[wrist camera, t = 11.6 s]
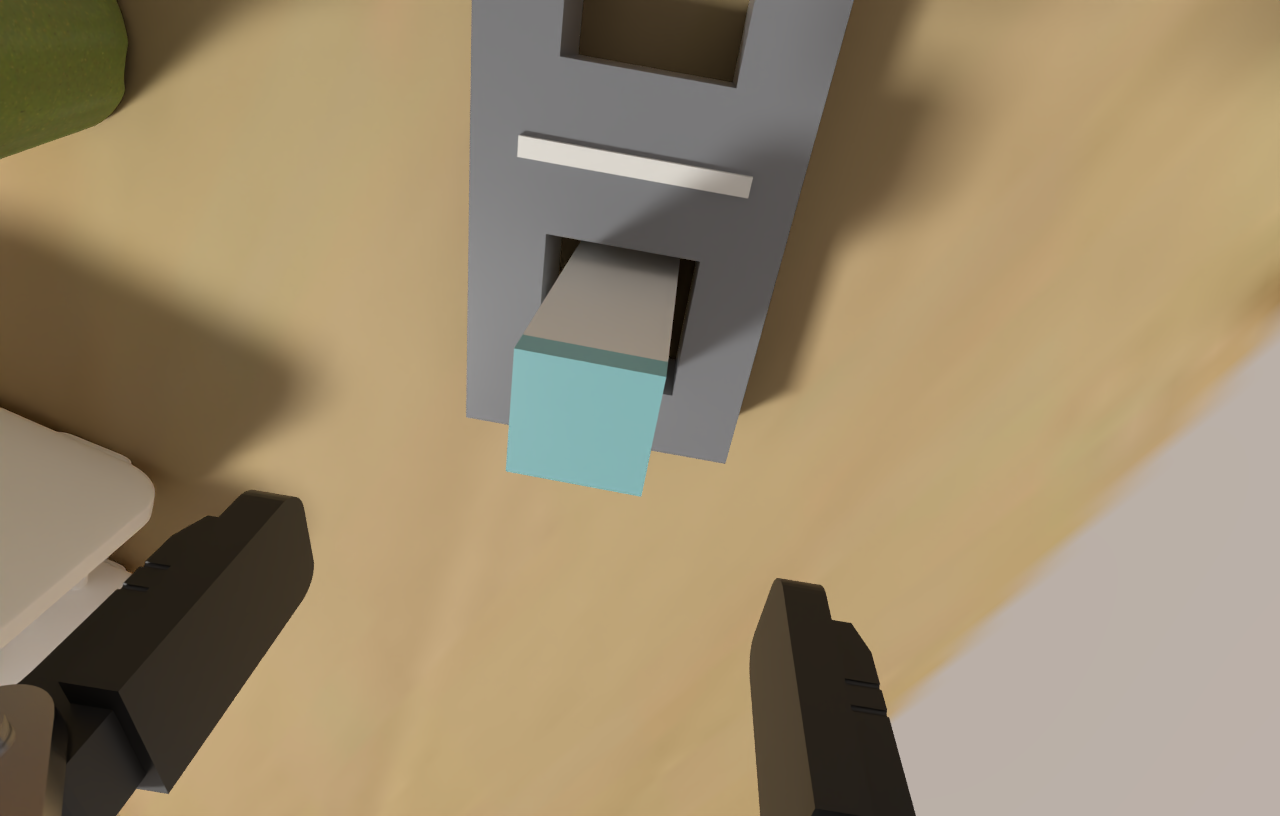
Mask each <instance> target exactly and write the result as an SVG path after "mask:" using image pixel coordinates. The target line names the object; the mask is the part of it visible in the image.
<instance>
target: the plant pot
mask: <svg viewBox="0 0 1280 816" xmlns="http://www.w3.org/2000/svg"><path fill="white" fill-rule="evenodd" d="M127 48H128V38H127V33H126V28H125V25H124V21H123V17H122V14H121V11H120V8H119V6H118V3H117V1H116V0H0V159H2V158H5V157H7V156H10V155H13V154H16V153H19V152H22V151H24V150H27V149H30V148H33V147H36V146H39V145H41V144H44V143H47V142H50V141H53V140H56V139H59V138H61V137H64V136H67V135H70V134H73V133H76V132H79V131H81V130H84V129H87V128H90V127H92V126H95V125H97V124H98V123H100V122H102V121H103V120H104V119H106V118H107V117H108V116H109V115H110V114H111V113H112V112H113V111H114V110H115V108H116V107H117V106H118V104H119V103H120V101H121V99H122V97H123V95H124V92H125V86H124V69H125V59H126V53H127Z"/></svg>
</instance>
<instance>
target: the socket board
mask: <svg viewBox="0 0 1280 816" xmlns="http://www.w3.org/2000/svg"><path fill="white" fill-rule="evenodd" d="M853 1H854V0H749V4H748V9H747V14H746V19H745V24H744V29H743V34H742V39H741V43H740V48H739V53H738V58H737V63H736V68H735V73H734V78H733V82H728V81H723V80H717V79H712V78H706V77H701V76H695V75H689V74H684V73H678V72H673V71H667V70H662V69H656V68H651V67H645V66H640V65H634V64H628V63H623V62H617V61H612V60H606V59H601V58H595V57H590V56H584V55H579V44H580V33H581V22H582V11H583V0H472V31H471V105H470V179H469V252H468V326H467V400H466V417H468V418H474V419H479V420H485V421H491V422H496V423H502V424H507V425H509V417H510V402H511V387H512V372H513V357H514V348H515V346H516V344H517V343H518V341H519V340H520V338H521V336H522V335H523V333H524V332H525V330H526V328H527V327H528V325H529V324H530V322H531V320H532V319H533V317H534V316H535V314H536V312H537V311H538V309H539V307H540V306H541V304H542V303H543V301H544V299H545V298H546V296H547V295H548V293H549V291H550V290H551V288H552V287H553V285H554V283H555V282H556V280H557V279H558V275H559V264H560V253H561V242H562V237H566V238H572V239H577V240H583V241H588V242H594V243H599V244H605V245H610V246H616V247H622V248H627V249H633V250H638V251H644V252H649V253H655V254H660V255H666V256H671V257H677V258H683V259H688V260H694V261H696V263H695V268H694V272H693V277H692V282H691V287H690V292H689V297H688V302H687V307H686V311H685V316H684V321H683V326H682V331H681V336H680V341H679V346H678V350H677V355H676V359H671V358H668V367H667V375H666V381H665V386H664V390H663V395H662V400H661V405H660V409H659V414H658V419H657V424H656V428H655V433H654V438H653V443H652V447H651V450H652V451H657V452H663V453H668V454H674V455H680V456H685V457H691V458H696V459H702V460H707V461H713V462H718V463H724V464H725V463H726V459H727V455H728V452H729V448H730V445H731V441H732V437H733V434H734V430H735V427H736V423H737V419H738V416H739V412H740V409H741V405H742V401H743V398H744V394H745V390H746V387H747V383H748V380H749V376H750V372H751V369H752V365H753V362H754V358H755V354H756V351H757V347H758V344H759V340H760V336H761V333H762V329H763V326H764V322H765V318H766V315H767V311H768V308H769V304H770V300H771V297H772V293H773V290H774V286H775V282H776V279H777V275H778V271H779V268H780V264H781V261H782V257H783V253H784V250H785V246H786V243H787V239H788V235H789V232H790V228H791V225H792V221H793V217H794V214H795V210H796V207H797V203H798V199H799V196H800V192H801V189H802V185H803V181H804V178H805V174H806V171H807V167H808V163H809V160H810V156H811V152H812V149H813V145H814V142H815V138H816V134H817V131H818V127H819V124H820V120H821V116H822V113H823V109H824V106H825V102H826V98H827V95H828V91H829V88H830V84H831V80H832V77H833V73H834V70H835V66H836V62H837V59H838V55H839V52H840V48H841V44H842V41H843V37H844V33H845V30H846V26H847V23H848V19H849V15H850V12H851V8H852V5H853Z"/></svg>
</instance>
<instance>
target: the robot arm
mask: <svg viewBox="0 0 1280 816" xmlns="http://www.w3.org/2000/svg"><path fill="white" fill-rule="evenodd" d="M313 570H314V561H313V555H312V549H311V544H310V539H309V533H308V528H307V522H306V517H305V512H304V507H303V503H302V501H301V500H300V499H299V498H297V497H292V496H286V495H280V494H274V493H268V492H262V491H256V490H249V491H246V492H244V493H243V494H241V495H240V496H239V497H238V498H237V499H236V500H235V501H234V502H233V503H232V504H231V505H230V506H229V507H228V508H227V509H226V510H225V511H224V512H223V513H222V514H221V515H220V516H219V517H213V516H206V517H204V518H203V519H201V520H199V521H197V522H196V523H194V524H192V525H190V526H188V527H187V528H185V529H183V530H181V531H180V532H178V533H176V534H174V535H172V536H171V537H170V538H169V539H168V540H167V541H166V542H165V543H164V544H163V545H162V546H161V547H160V548H159V549H158V550H157V551H156V552H155V553H154V554H153V555H152V556H151V557H149V558H148V559H147V560H146V561H145V565H144V567H139V568H138V569H137V570H136V571H135V572H134V573H133V574H132V575H131V576H130V577H129V578H128V579H127V580H126V581H125V582H124V583H123V586H122V588H121V589H116V590H115V591H114V592H113V593H112V594H111V595H110V596H109V597H108V598H107V599H106V600H105V601H104V602H103V603H102V604H101V605H100V606H99V607H98V608H97V609H96V610H95V611H94V612H92V613H91V614H90V615H89V616H88V617H87V618H86V619H85V620H84V621H83V622H82V623H81V624H80V625H79V626H78V627H77V628H76V629H75V630H74V631H73V632H72V633H71V634H70V635H69V636H68V637H67V638H66V639H65V640H63V641H62V642H61V643H60V644H59V645H58V646H57V647H56V648H55V649H54V650H53V651H52V652H51V653H50V654H49V655H48V656H47V657H46V658H45V659H44V660H43V661H42V662H41V663H40V664H39V665H38V666H37V667H36V668H34V669H33V670H32V671H31V672H30V673H29V674H28V675H27V676H26V677H25V678H23V679H22V680H21V681H20V682H18V683H17V684H11V685H4V686H0V816H120V814H119V811H120V810H121V809H122V807H123V806H124V805H125V803H126V802H127V800H128V799H129V798H130V796H131V795H132V794H133V792H134V791H135V790H136V789H142V790H148V791H154V792H160V793H166V794H169V792H170V791H171V789H172V788H173V786H174V785H175V784H176V782H177V781H178V779H179V778H180V776H181V775H182V773H183V772H184V771H185V769H186V768H187V766H188V765H189V763H190V762H191V760H192V759H193V758H194V756H195V755H196V753H197V752H198V750H199V749H200V747H201V746H202V745H203V743H204V742H205V740H206V739H207V737H208V736H209V734H210V733H211V732H212V730H213V729H214V727H215V726H216V724H217V723H218V721H219V720H220V719H221V717H222V716H223V714H224V713H225V711H226V710H227V708H228V707H229V706H230V704H231V703H232V701H233V700H234V698H235V697H236V695H237V694H238V693H239V691H240V690H241V688H242V687H243V685H244V684H245V683H246V681H247V680H248V678H249V677H250V675H251V674H252V672H253V671H254V670H255V668H256V667H257V665H258V664H259V662H260V661H261V659H262V658H263V657H264V655H265V654H266V652H267V651H268V649H269V648H270V646H271V645H272V644H273V642H274V641H275V639H276V638H277V636H278V635H279V633H280V632H281V631H282V629H283V628H284V626H285V625H286V623H287V622H288V620H289V619H290V618H291V616H292V615H293V613H294V612H295V610H296V609H297V607H298V606H299V605H300V603H301V602H302V600H303V599H304V597H305V595H306V593H307V591H308V589H309V586H310V583H311V580H312V576H313ZM879 685H880V683H879V679H878V675H877V672H876V668H875V664H874V661H873V657H872V653H871V651H870V650H869V648H868V647H867V645H866V644H865V643H864V641H863V640H862V638H861V637H860V635H859V634H858V632H857V631H856V629H855V628H854V626H853V625H852V624H851V623H847V622H841V621H835V620H832V619H831V615H830V610H829V606H828V601H827V596H826V593H825V590H824V588H823V587H822V586H821V585H817V584H811V583H805V582H799V581H793V580H787V579H780V578H777V579H775V580H774V582H773V584H772V587H771V590H770V592H769V595H768V598H767V601H766V603H765V606H764V609H763V612H762V614H761V617H760V620H759V623H758V625H757V628H756V631H755V633H754V637H753V641H752V645H751V652H750V686H751V699H752V712H753V725H754V739H755V752H756V765H757V778H758V791H759V804H760V816H916V815H915V811H914V807H913V804H912V800H911V797H910V793H909V789H908V786H907V782H906V778H905V774H904V771H903V767H902V763H901V760H900V756H899V753H898V749H897V745H896V741H895V738H894V734H893V730H892V727H891V723H890V719H889V717H887V714H886V713H887V708H886V705H885V701H884V697H883V694H882V690H880V689H879Z"/></svg>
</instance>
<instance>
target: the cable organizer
mask: <svg viewBox="0 0 1280 816" xmlns="http://www.w3.org/2000/svg"><path fill="white" fill-rule="evenodd" d="M154 498H155V488H154V485H153V483H152V482H151V480H150V478H149V477H148V476H147V475H146V474H145V473H144V472H142V471H141V470H140V469H138V468H137V467H135V466H133V465H132V464H131V460H130V459H128V458H127V457H125V456H123V455H121V454H119V453H116V452H114V451H111V450H109V449H106V448H104V447H102V446H99V445H97V444H94V443H92V442H89V441H87V440H84V439H82V438H79V437H77V436H74V435H72V434H69V433H65V432H56V431H54V430H52V429H49V428H47V427H45V426H42V425H40V424H38V423H36V422H33V421H31V420H29V419H26V418H24V417H22V416H19V415H17V414H15V413H13V412H10V411H8V410H6V409H3V408H1V407H0V686H4V685H11V684H17V683H18V682H20V681H21V680H22V679H23V678H25V677H26V676H27V675H28V674H29V673H30V672H31V671H32V670H33V669H34V668H36V667H37V666H38V665H39V664H40V663H41V662H42V661H43V660H44V659H45V658H46V657H47V656H48V655H49V654H50V653H51V652H52V651H53V650H54V649H55V648H56V647H57V646H58V645H59V644H60V643H61V642H62V641H63V640H65V639H66V638H67V637H68V636H69V635H70V634H71V633H72V632H73V631H74V630H75V629H76V628H77V627H78V626H79V625H80V624H81V623H82V622H83V621H84V620H85V619H86V618H87V617H88V616H89V615H90V614H91V613H92V612H94V611H95V610H96V609H97V608H98V607H99V606H100V605H101V604H102V603H103V602H104V601H105V600H106V599H107V598H108V597H109V596H110V595H111V594H112V593H113V592H114V591H115V590H116V589H121V588H122V586H123V583H124V582H125V581H126V580H127V579H128V578H129V577H130V576H131V575H132V573H130V572H128V571H126V569H125V567H123V566H122V565H120V564H118V563H116V562H114V561H111V560H109V559H107V558H109V556H110V555H111V554H112V553H113V552H114V551H116V550H117V549H118V548H119V547H120V546H121V545H123V544H124V543H125V542H126V541H127V540H128V539H129V538H131V537H132V536H133V535H134V534H135V533H136V532H138V531H139V530H140V529H141V528H142V527H143V526H144V525H145V524H146V523H147V522H148V521H149V519H150V517H151V514H152V510H153V504H154Z"/></svg>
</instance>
